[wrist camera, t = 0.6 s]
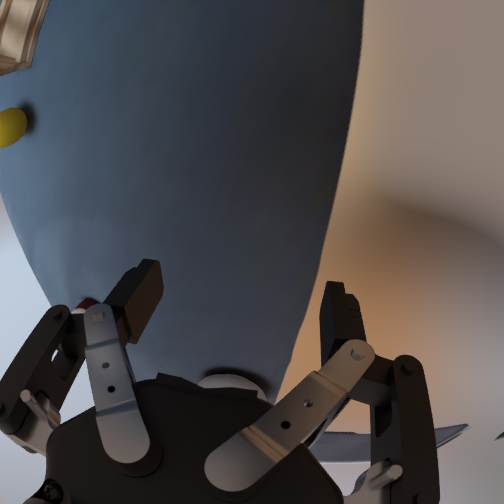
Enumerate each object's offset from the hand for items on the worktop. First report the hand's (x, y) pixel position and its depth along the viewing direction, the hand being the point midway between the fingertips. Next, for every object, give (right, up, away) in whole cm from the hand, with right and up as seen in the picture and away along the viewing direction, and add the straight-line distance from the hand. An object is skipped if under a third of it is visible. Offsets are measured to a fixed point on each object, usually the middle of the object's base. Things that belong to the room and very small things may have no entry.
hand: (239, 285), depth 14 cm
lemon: (-33, +22, +17) cm, 43 cm away
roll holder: (-32, +34, +7) cm, 47 cm away
